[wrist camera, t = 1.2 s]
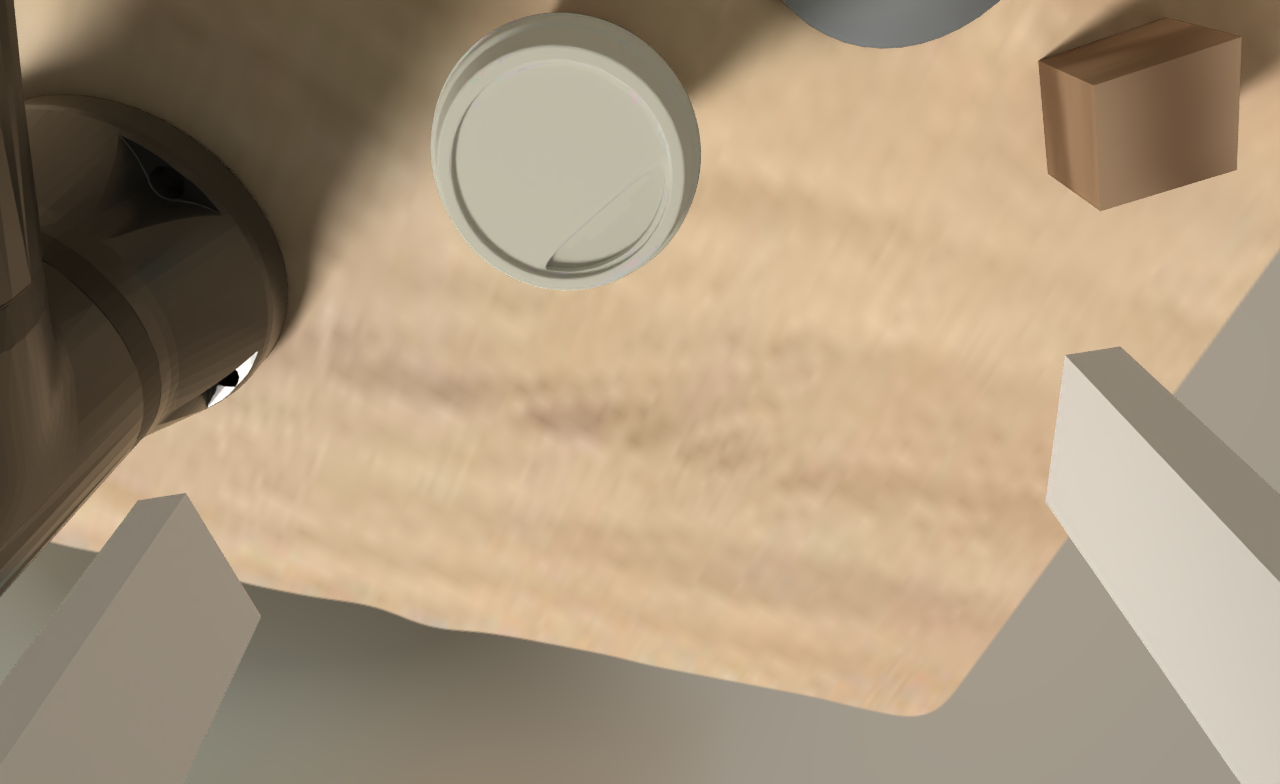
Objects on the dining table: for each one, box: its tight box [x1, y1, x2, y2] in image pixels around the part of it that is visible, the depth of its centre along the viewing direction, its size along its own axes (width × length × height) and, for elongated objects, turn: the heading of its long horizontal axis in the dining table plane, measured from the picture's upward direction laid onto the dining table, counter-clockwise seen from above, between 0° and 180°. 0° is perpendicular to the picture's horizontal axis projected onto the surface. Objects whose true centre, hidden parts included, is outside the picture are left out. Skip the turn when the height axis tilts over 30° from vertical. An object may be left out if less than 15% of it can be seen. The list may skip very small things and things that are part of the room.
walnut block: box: [1038, 18, 1242, 211], centre depth 33 cm, size 5×5×5 cm
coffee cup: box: [430, 13, 701, 291], centre depth 29 cm, size 9×8×12 cm
